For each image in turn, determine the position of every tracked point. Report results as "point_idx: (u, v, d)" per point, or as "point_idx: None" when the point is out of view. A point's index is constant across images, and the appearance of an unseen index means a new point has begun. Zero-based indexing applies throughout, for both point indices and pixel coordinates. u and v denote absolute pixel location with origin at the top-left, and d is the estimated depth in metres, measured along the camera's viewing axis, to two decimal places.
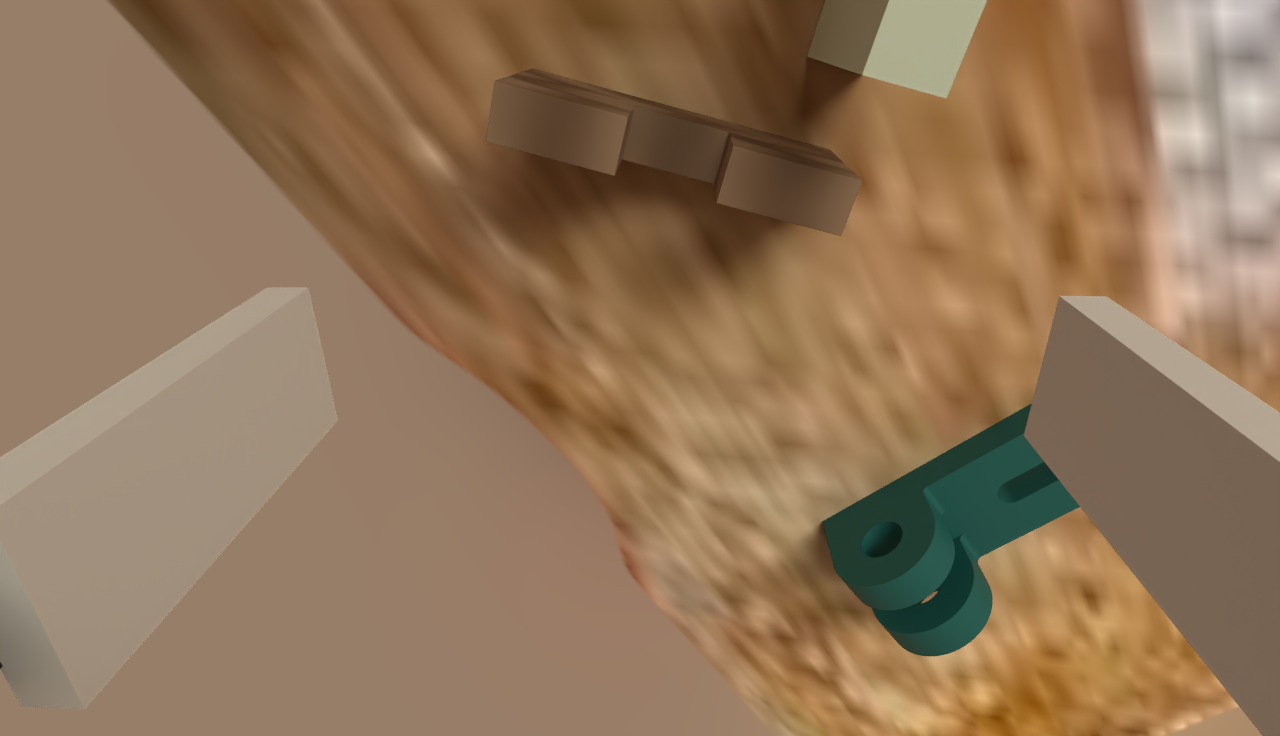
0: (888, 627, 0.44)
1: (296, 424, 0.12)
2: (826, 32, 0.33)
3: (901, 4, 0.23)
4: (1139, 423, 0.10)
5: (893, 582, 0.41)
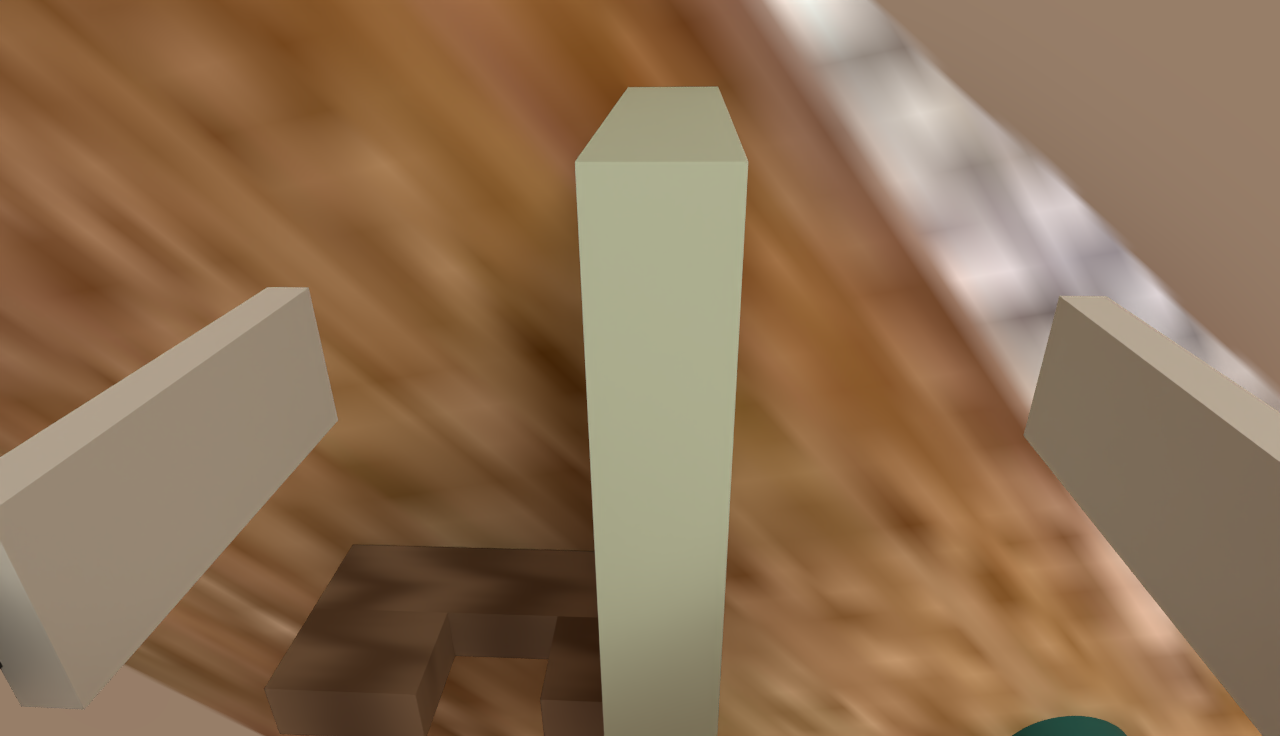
0: None
1: (296, 424, 0.12)
2: None
3: (618, 703, 0.19)
4: (1138, 423, 0.10)
5: None
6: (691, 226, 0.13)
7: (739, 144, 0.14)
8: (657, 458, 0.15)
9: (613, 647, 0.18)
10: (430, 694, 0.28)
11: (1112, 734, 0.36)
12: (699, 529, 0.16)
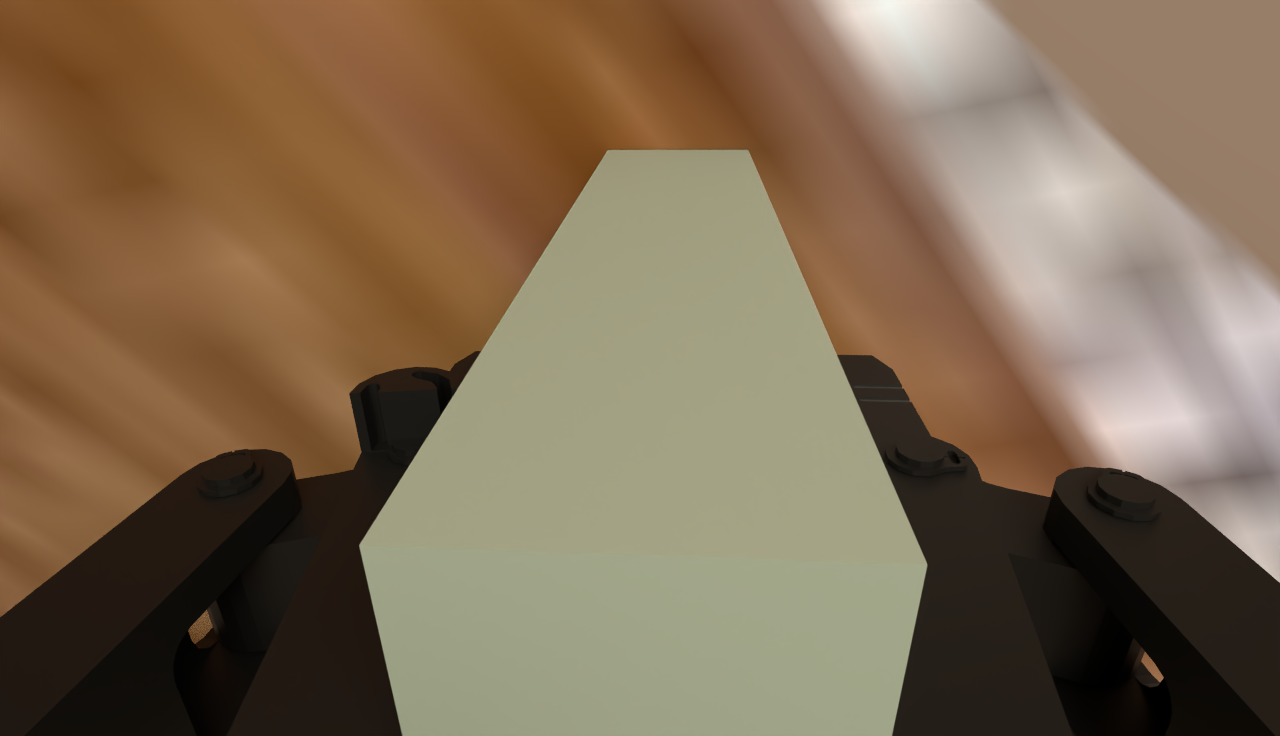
0: None
1: None
2: None
3: None
4: None
5: None
6: (731, 709, 0.04)
7: (852, 401, 0.05)
8: None
9: None
10: None
11: None
12: None
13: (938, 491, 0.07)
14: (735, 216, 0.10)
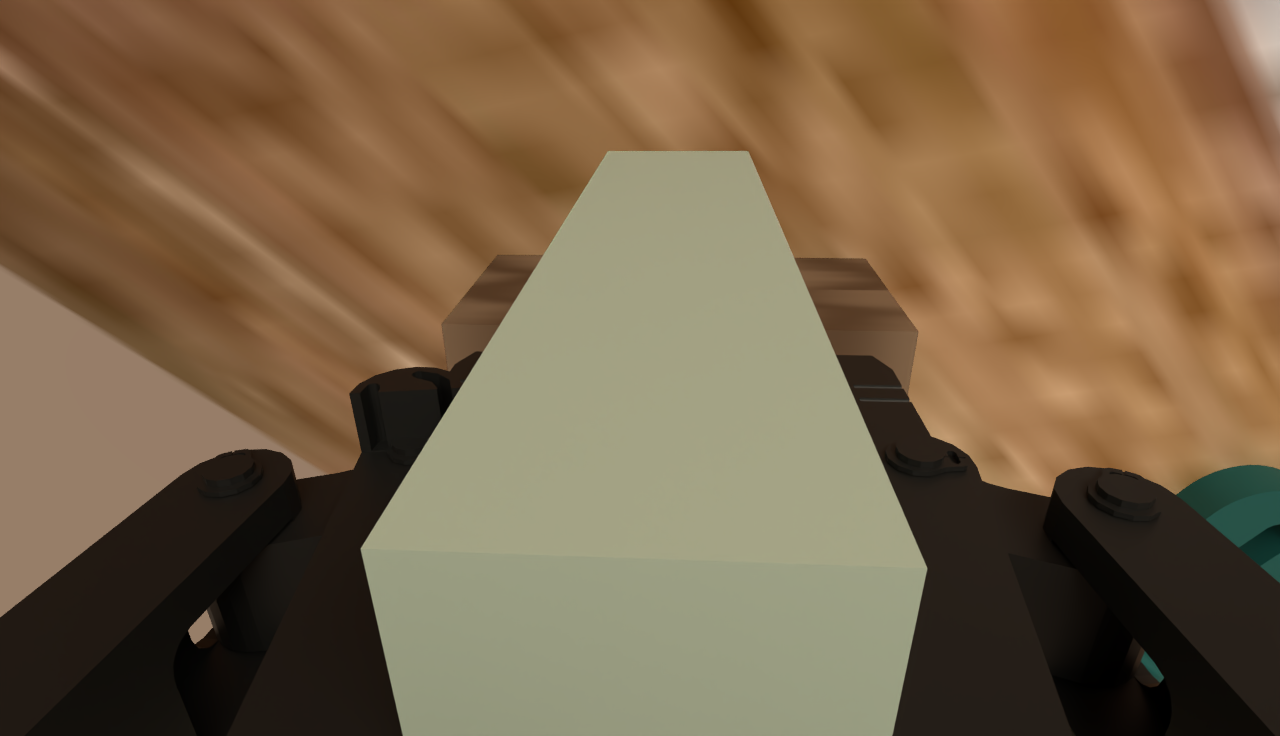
0: None
1: None
2: None
3: None
4: None
5: None
6: (730, 713, 0.04)
7: (852, 404, 0.05)
8: None
9: None
10: None
11: None
12: None
13: (938, 491, 0.07)
14: (735, 218, 0.10)
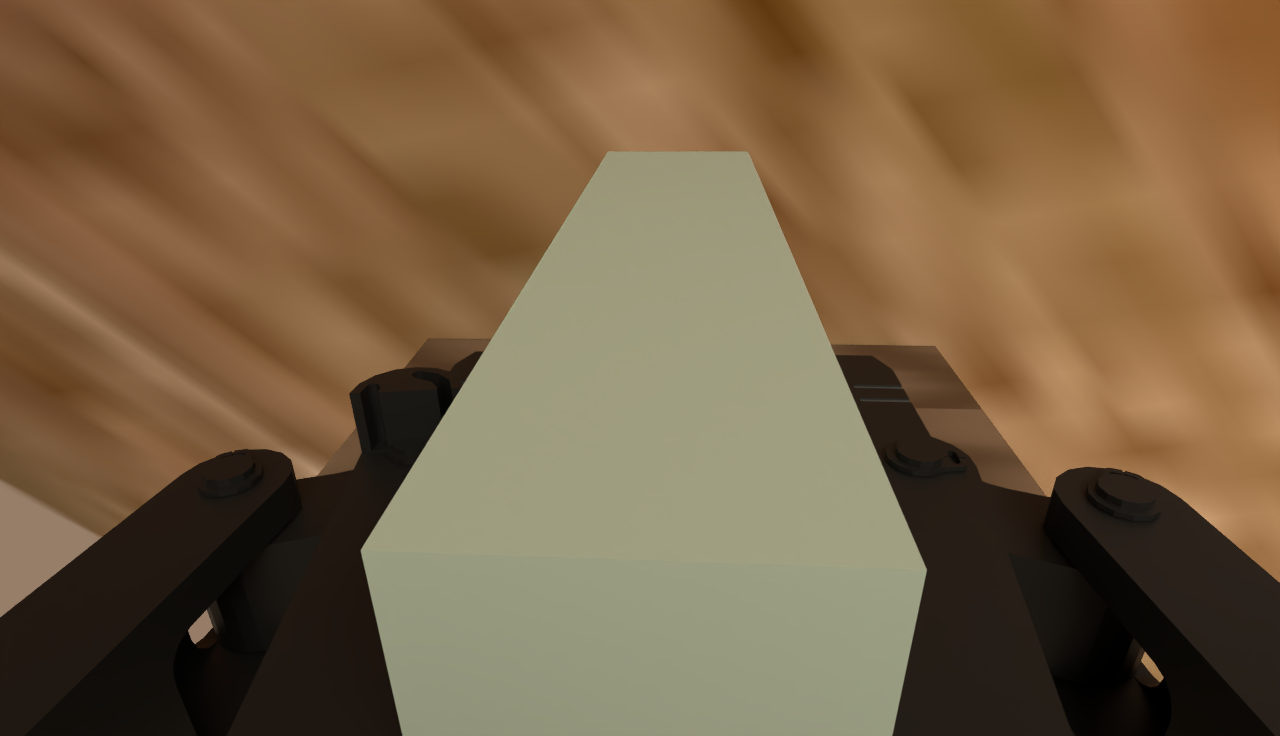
0: None
1: None
2: None
3: None
4: None
5: None
6: (729, 713, 0.04)
7: (851, 405, 0.05)
8: None
9: None
10: None
11: None
12: None
13: (938, 491, 0.07)
14: (735, 218, 0.10)
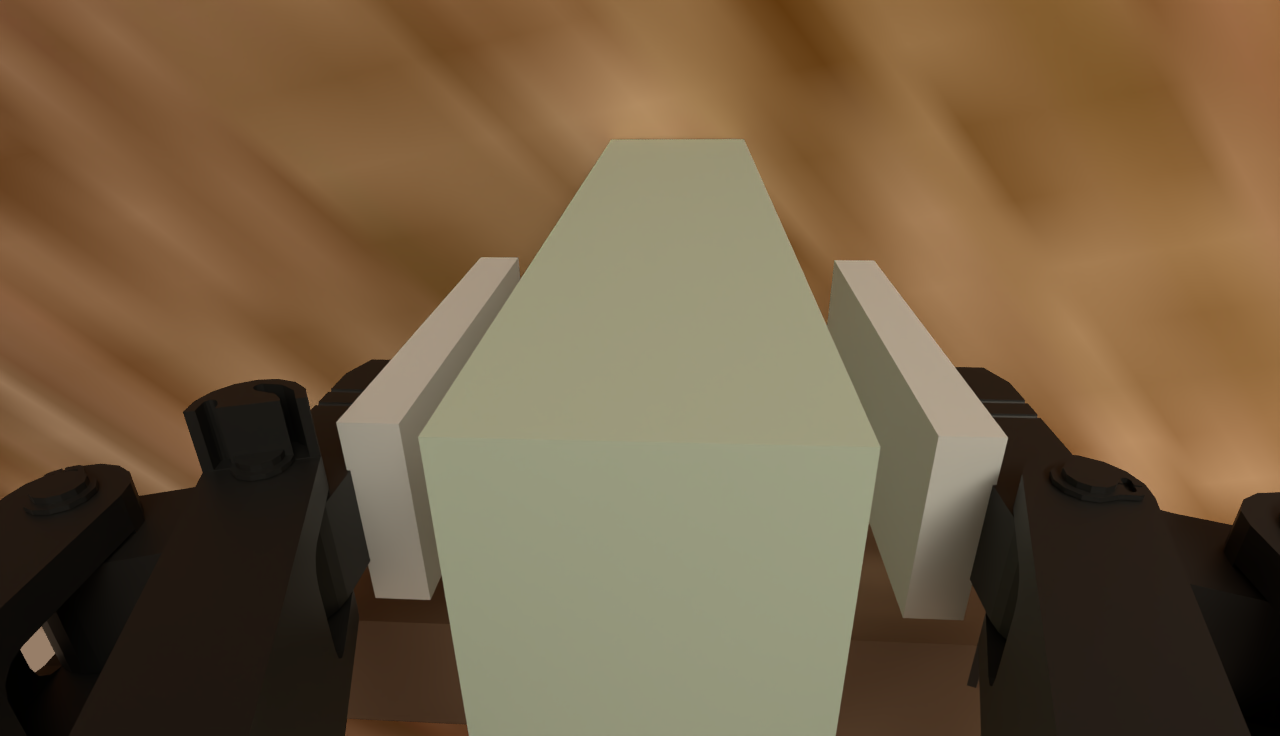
0: None
1: None
2: None
3: None
4: (859, 360, 0.12)
5: None
6: (721, 581, 0.05)
7: (827, 337, 0.06)
8: None
9: None
10: None
11: None
12: None
13: (1110, 519, 0.07)
14: (730, 195, 0.11)
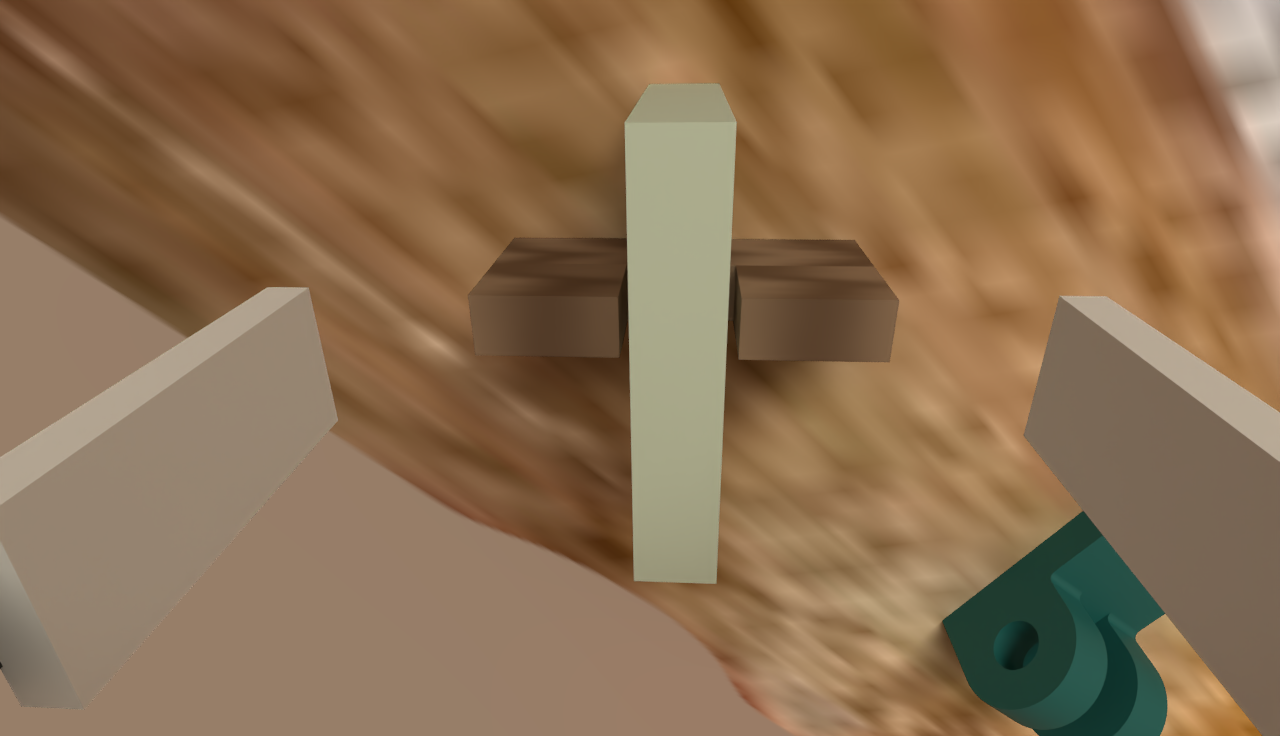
0: None
1: (296, 424, 0.12)
2: None
3: (644, 530, 0.25)
4: (1138, 422, 0.10)
5: (1042, 703, 0.35)
6: (699, 165, 0.20)
7: (731, 114, 0.21)
8: (675, 333, 0.22)
9: (642, 483, 0.25)
10: (621, 320, 0.29)
11: None
12: (704, 387, 0.23)
13: None
14: (708, 96, 0.26)
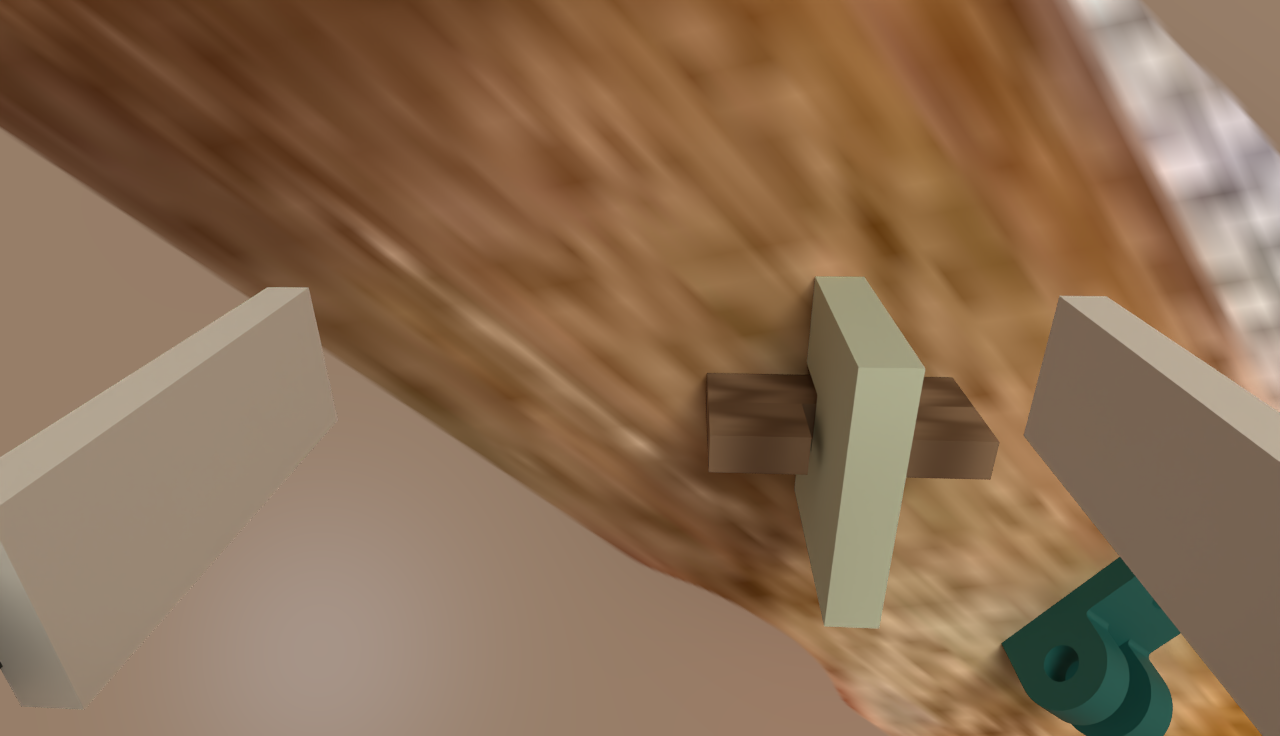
0: (1085, 733, 0.52)
1: (296, 424, 0.12)
2: (802, 503, 0.48)
3: (836, 595, 0.39)
4: (1139, 423, 0.10)
5: (1083, 706, 0.49)
6: (900, 390, 0.34)
7: (913, 352, 0.35)
8: (873, 479, 0.36)
9: (838, 566, 0.38)
10: None
11: None
12: (887, 510, 0.37)
13: None
14: (875, 310, 0.40)
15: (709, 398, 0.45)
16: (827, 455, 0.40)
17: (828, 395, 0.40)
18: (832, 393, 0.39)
